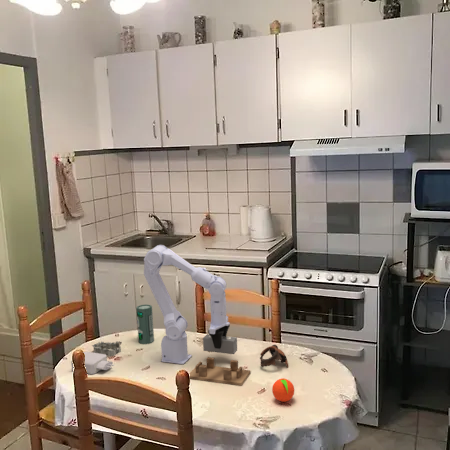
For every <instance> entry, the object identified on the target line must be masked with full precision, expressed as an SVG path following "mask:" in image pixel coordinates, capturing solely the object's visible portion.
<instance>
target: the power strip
mask: <svg viewBox="0 0 450 450" xmlns="http://www.w3.org/2000/svg"><path fill="white" fill-rule="evenodd" d="M202 344H203V345H202V346H203V347H202V349H203V352H210V353H211V352H212V353H218V354H225V355H226V354H227V355H235V353H236V352H237V351H238V337H236V336H227V335H226V336H222V340H221V348H220V349H217V348H215V347H214V344H213V341H212V338H211V336H210V335H209V333H208V334H205V336H203V338H202Z"/></svg>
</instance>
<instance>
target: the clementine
mask: <svg viewBox="0 0 450 450" xmlns="http://www.w3.org/2000/svg"><path fill="white" fill-rule="evenodd" d="M271 390H272V391H271V392H272V395H273V397H274V398H275V399H276V400H277V401H278V402H283V403H285V402H289V401H290V400H291V399H292V398H293V397H294V395H295V387H294V384H293V382H291V381H290V380H289V379H287V378H282V377H281V378H279V379H277V380H275V382H274V383H273V385H272V389H271Z"/></svg>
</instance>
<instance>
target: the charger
mask: <svg viewBox="0 0 450 450" xmlns="http://www.w3.org/2000/svg"><path fill="white" fill-rule="evenodd" d="M83 353H84V354H85V367H86V370H87V372H88V374H87V375H95V374H97V373H98V372H99V371H102V370H103V371H108V370H109V369H112V367H114V366H115V364H113V361H108V355H105V354H101V353H94V351H93V352H91V351H84V352H83ZM70 363H71V371H73V368H74V367H73V363H72V360H71V361H70ZM73 372H74V371H73Z"/></svg>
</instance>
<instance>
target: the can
mask: <svg viewBox="0 0 450 450" xmlns="http://www.w3.org/2000/svg"><path fill="white" fill-rule="evenodd" d="M135 311H136V321H137V338H138V339H137V340H138V343H139V344H140V345H150V344H152V343H154V342H155V334H154V319H153V318H154V316H153V306H152V305H151V304H140V305H137V306H136V307H135Z"/></svg>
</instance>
